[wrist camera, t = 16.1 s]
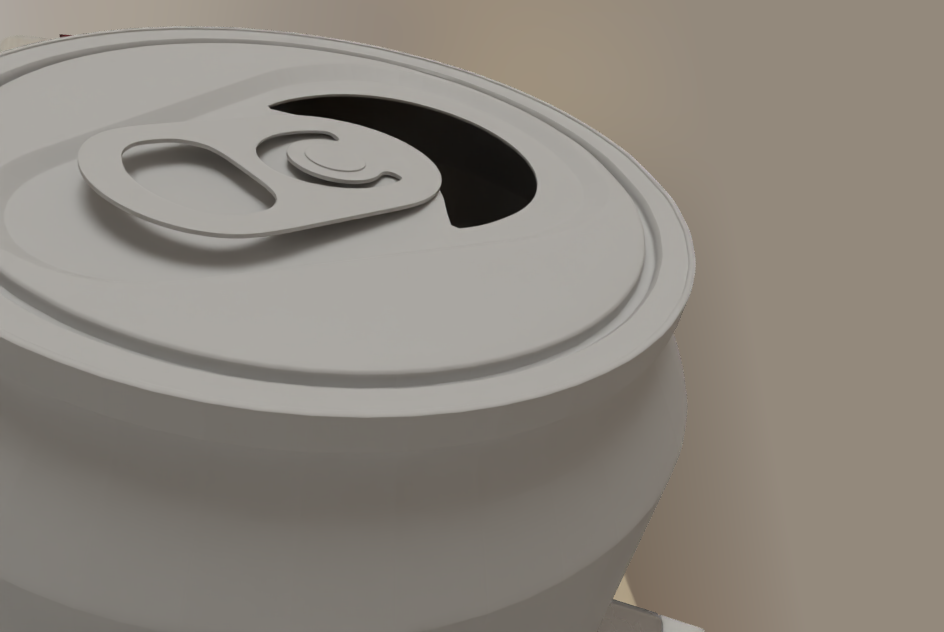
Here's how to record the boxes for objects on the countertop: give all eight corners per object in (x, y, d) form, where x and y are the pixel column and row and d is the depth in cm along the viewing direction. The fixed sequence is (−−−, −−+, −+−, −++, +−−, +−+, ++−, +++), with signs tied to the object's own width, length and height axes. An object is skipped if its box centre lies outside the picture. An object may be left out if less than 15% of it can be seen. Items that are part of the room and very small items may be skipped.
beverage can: (534, 871, 13) (886, 236, 7) (173, 1317, 9) (156, 771, 2) (293, 606, 16) (372, -12, 10) (-64, 844, 12) (-363, 21, 5)
